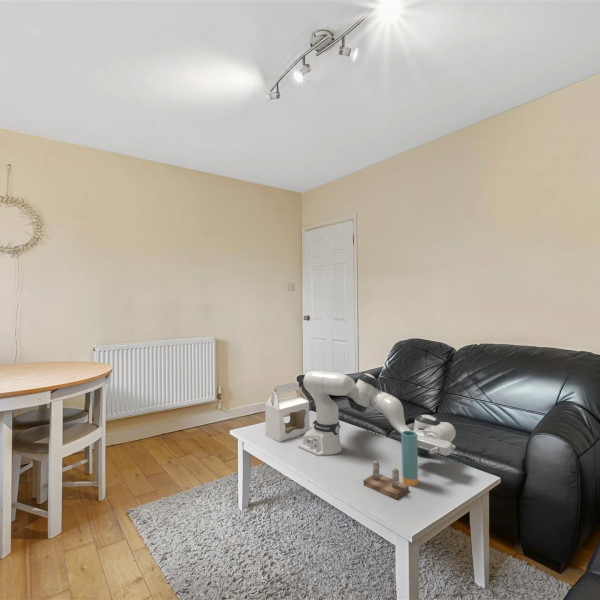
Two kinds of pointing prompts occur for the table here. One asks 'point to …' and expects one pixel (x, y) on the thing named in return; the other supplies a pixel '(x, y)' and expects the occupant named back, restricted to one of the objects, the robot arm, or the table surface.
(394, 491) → the pin board
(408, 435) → the sleeve
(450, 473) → the table surface
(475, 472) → the table surface
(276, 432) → the gable box
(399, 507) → the table surface
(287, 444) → the table surface
